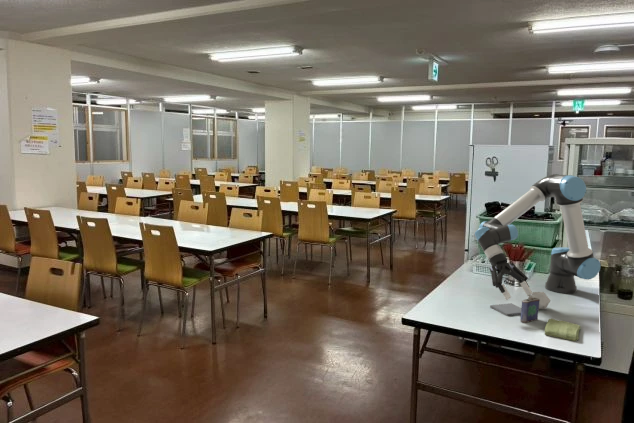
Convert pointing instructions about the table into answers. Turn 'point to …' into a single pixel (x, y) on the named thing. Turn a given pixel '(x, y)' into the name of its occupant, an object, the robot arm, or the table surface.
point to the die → (541, 299)
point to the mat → (507, 309)
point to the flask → (529, 309)
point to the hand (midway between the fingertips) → (519, 296)
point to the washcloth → (562, 329)
